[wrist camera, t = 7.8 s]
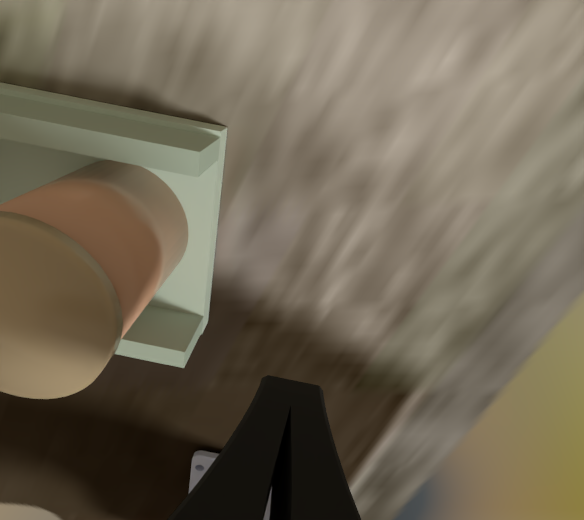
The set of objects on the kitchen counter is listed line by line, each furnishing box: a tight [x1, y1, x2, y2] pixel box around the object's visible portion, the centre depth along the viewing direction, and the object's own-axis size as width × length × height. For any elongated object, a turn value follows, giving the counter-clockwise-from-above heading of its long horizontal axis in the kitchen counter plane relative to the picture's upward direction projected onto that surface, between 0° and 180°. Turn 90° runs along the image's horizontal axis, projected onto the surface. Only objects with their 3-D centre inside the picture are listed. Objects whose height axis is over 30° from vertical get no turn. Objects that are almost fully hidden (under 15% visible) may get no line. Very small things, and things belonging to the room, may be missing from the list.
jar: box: [0, 160, 189, 399], centre depth 14 cm, size 5×5×7 cm
